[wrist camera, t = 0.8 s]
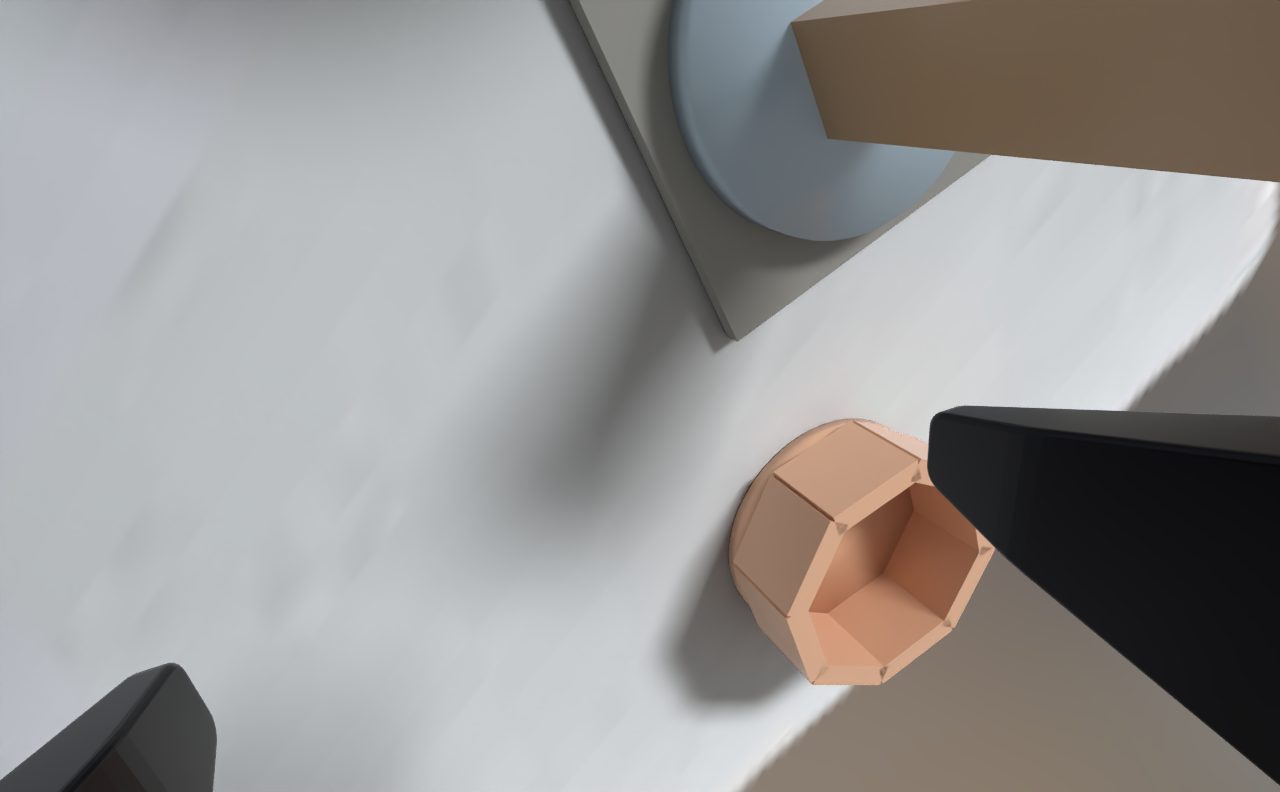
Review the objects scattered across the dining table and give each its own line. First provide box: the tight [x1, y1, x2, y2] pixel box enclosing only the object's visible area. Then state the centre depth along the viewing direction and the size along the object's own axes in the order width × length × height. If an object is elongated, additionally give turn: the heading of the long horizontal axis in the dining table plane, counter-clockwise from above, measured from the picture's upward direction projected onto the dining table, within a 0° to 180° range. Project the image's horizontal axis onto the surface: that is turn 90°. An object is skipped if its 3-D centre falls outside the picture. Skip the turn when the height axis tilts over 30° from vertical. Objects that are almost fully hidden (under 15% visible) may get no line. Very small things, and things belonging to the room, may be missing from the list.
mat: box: [569, 0, 990, 342], centre depth 21 cm, size 12×12×1 cm
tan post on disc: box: [668, 0, 1280, 241], centre depth 15 cm, size 10×10×13 cm
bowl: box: [729, 419, 995, 685], centre depth 27 cm, size 9×9×4 cm
